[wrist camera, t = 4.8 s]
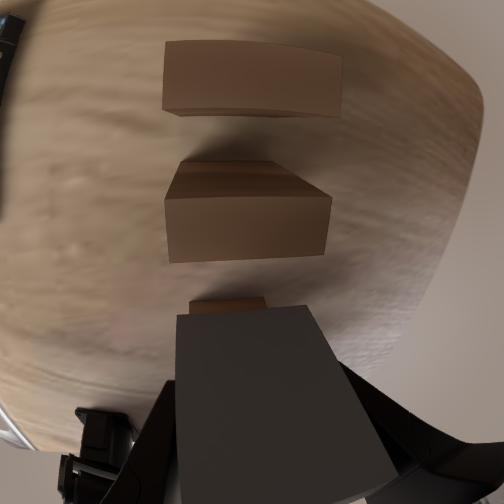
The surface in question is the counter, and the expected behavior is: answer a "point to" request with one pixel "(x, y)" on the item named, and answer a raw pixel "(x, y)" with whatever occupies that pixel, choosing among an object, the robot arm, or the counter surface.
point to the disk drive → (8, 43)
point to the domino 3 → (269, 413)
